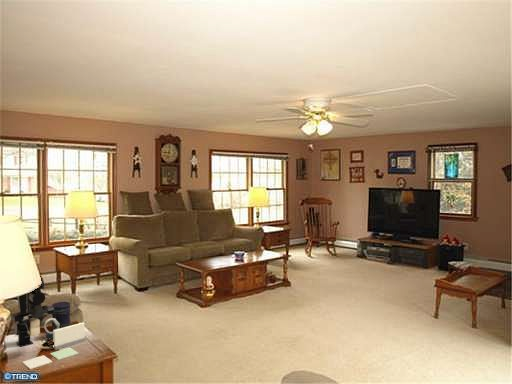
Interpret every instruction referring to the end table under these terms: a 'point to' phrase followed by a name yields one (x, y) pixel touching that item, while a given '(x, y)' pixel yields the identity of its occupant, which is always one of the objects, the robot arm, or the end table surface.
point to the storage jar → (61, 314)
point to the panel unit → (69, 335)
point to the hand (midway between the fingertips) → (33, 330)
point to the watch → (50, 333)
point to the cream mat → (37, 362)
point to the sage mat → (64, 353)
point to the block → (34, 326)
